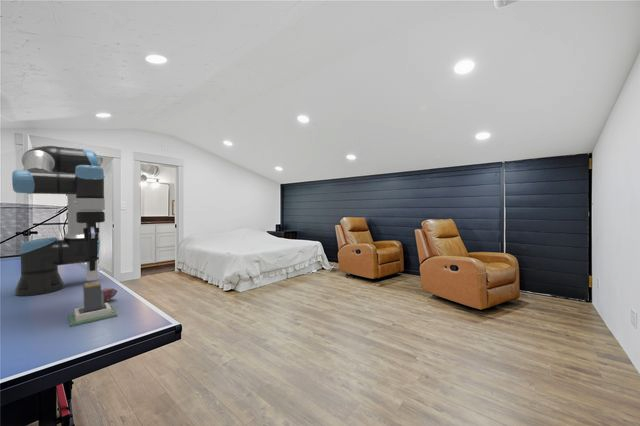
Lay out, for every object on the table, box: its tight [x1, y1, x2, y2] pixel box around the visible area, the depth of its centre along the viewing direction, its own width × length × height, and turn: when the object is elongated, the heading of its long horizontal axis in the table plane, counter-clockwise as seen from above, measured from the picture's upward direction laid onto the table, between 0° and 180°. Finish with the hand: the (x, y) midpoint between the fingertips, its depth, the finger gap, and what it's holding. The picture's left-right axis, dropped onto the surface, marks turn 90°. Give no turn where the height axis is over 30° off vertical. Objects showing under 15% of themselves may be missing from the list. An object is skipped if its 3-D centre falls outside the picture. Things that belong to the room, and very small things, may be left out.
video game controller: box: [102, 287, 118, 303], centre depth 108 cm, size 10×5×7 cm, turn 169°
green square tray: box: [68, 301, 118, 328], centre depth 96 cm, size 12×12×3 cm
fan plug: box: [82, 280, 105, 313], centre depth 96 cm, size 4×5×11 cm
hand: (92, 279), depth 95 cm, fingers closed
